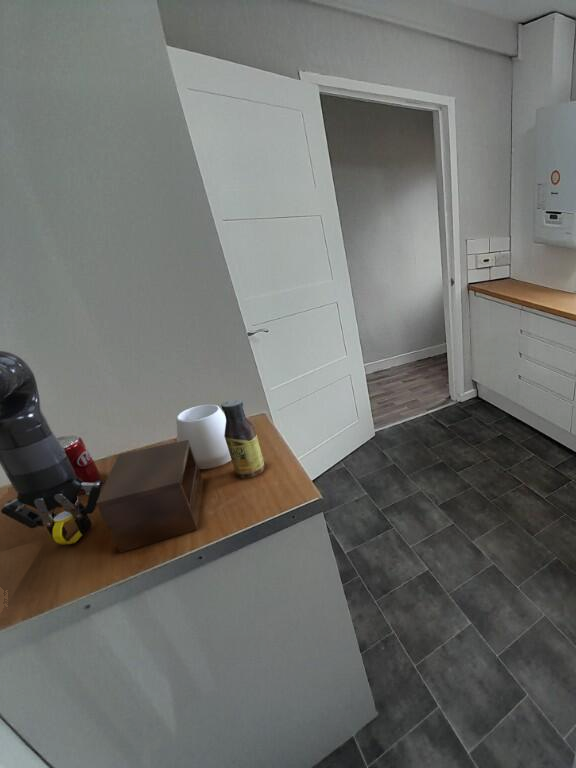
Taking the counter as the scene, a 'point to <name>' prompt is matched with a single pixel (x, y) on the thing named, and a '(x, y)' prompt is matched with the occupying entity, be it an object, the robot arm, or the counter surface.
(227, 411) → the sauce bottle
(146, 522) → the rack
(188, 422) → the cup
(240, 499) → the counter surface
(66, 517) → the watch
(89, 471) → the soda can
